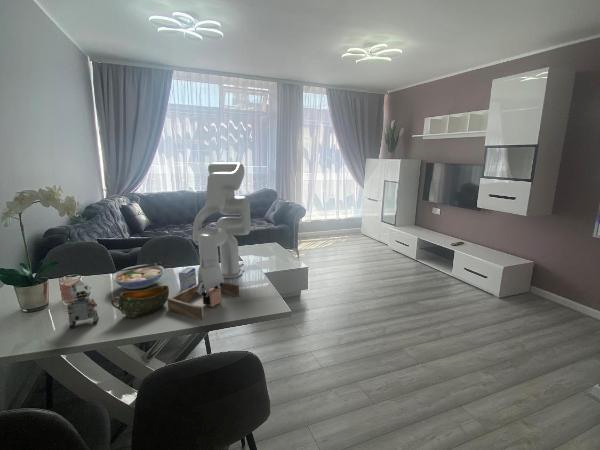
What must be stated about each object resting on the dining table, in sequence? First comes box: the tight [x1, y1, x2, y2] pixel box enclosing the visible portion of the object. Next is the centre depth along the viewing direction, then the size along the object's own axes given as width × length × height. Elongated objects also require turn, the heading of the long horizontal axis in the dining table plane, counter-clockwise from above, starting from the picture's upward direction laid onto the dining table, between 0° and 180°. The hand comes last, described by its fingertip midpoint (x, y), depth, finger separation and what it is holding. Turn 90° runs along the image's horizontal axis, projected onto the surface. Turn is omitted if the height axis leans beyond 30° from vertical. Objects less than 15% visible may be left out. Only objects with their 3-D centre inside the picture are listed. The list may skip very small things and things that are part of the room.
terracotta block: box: [201, 288, 222, 308], centre depth 138 cm, size 6×6×6 cm
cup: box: [110, 285, 170, 319], centre depth 132 cm, size 13×20×10 cm, turn 107°
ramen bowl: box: [108, 261, 165, 290], centre depth 157 cm, size 25×23×8 cm
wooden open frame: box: [166, 281, 240, 321], centre depth 140 cm, size 24×18×5 cm
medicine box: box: [178, 266, 197, 291], centre depth 156 cm, size 8×4×9 cm, turn 168°
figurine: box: [66, 282, 100, 330], centre depth 123 cm, size 9×12×15 cm
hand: (212, 300), depth 138 cm, fingers closed on terracotta block, 5 cm apart
